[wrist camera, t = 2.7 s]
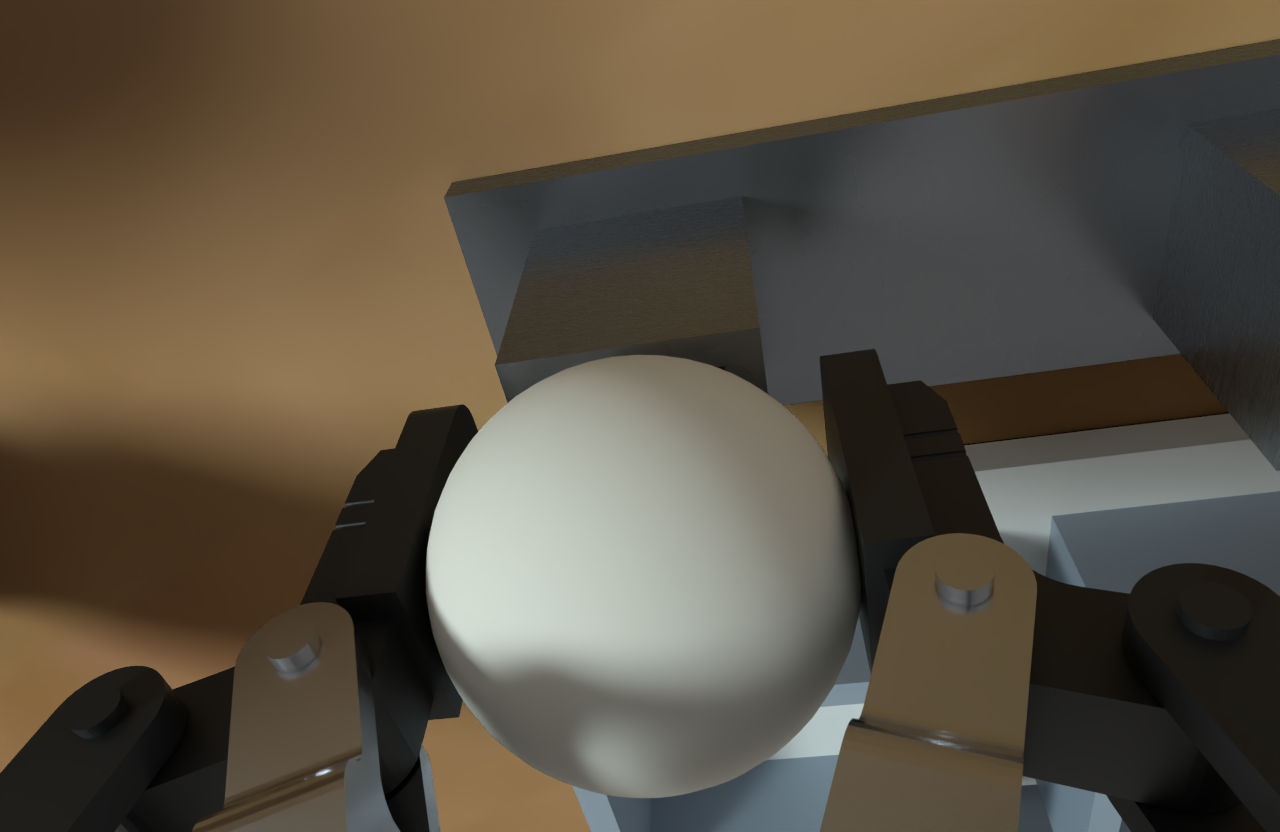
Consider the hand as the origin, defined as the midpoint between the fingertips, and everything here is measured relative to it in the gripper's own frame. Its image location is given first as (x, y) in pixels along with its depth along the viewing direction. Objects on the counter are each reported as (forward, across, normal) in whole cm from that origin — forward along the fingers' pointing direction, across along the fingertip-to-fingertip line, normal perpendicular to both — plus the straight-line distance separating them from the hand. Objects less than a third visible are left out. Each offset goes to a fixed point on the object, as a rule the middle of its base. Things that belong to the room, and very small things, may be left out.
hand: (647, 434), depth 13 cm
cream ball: (-3, 0, 0) cm, 3 cm away
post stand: (+4, -5, 0) cm, 7 cm away
